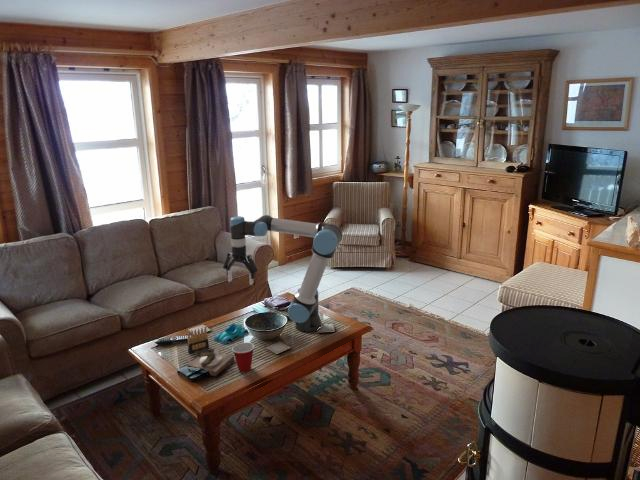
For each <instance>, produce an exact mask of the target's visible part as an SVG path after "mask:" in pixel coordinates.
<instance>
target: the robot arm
mask: <svg viewBox="0 0 640 480" xmlns="http://www.w3.org/2000/svg"><path fill="white" fill-rule="evenodd" d="M229 222H230V224H229V225H230V226H229V227H230V239H231V241H230V243H231V251H230V252H228V253H227V254H226V255H227V257H226V259H225V261H224V264H223V267H222V268H223V269H225V270H226V276H227V280H228V283H230V282H232V281H233V271H232V267H233V265H234V264H235V263H239V264H240V263H242V264H243V265H244V266H245V268H246V269H247V270H248V272H249V273H248V278H249V285H250V286H252V285H253V284H254V283H255V282H254V279H255V273H257V272H258V268H257V266H256V265H255V262H254V260H253V258H252V254H249V255H248V254H247V245H246V243H247V242H246V236H248V237H249V236H253V237H265V236H266V235H267V233H268V232H274V233H282V234H288V235H294V236H295V235H296V236H300V237H308V238H313V242H312V247H311V252H312V255H311V258H310V261H309V264H308V267H307V269H306V272H305V274H304V277H303V281H302V282H301V285H300V287H299V288H297V292H295V294H294V295H293V299H292V301H291V303H290V305H289V306H288V307H287V308H288V309H287V315H288V317H289V318H290V320H291V321H292V322H294V327H295V329H296V330H297V331H299V330H300V331H299V332H302V331H303V333H313V332H312V331H314V332H316V330H317V329H318V328H319V327H321V325H323V323H322V322H323V321H322V319H321V316H320V315H319V314H320V313H319V290H318V288H319V285H320V284H321V281H322V278H323V276H324V272H325V270H326V267H327V265H328V262H329V260H331V259H333V257H334V256H335V252H336V250H337V248H338V245H339V244H340V243H341V242H342V238H343V231H342V230H341V228H340V227H339V226H338V225H336V224H333V223H329V222H328V223H327V222H321V221H320V222H318V223H314V222H307V221H306V222H305V221H300V220H292V219H286V218H285V219H283V218H275V217H272V215H269V214H264V215H262V216H260V217H259V218H257V219H255V220H254V221H246V220H245V217H243V216H238V215H237V216H233V217H232V216H231V218H230V221H229ZM231 259H232V260H231ZM321 328H322V327H321ZM304 331H305V332H304ZM317 331H318V330H317Z"/></svg>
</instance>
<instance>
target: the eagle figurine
mask: <svg viewBox="0 0 640 480" xmlns="http://www.w3.org/2000/svg"><path fill="white" fill-rule="evenodd" d="M209 348H210V349H203V350H200V351H197V354H196V356H197V357H205V356H207V358H206V360H205V361H203V362H202V363H201V365H202V366H206V365H209V364H210V363H211V362H212V361H213V360H214V357H215V358H216V356H218V354H219V352H220V351H219V350H218V349H215V350H214V348H213V347H210V346H209Z"/></svg>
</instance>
